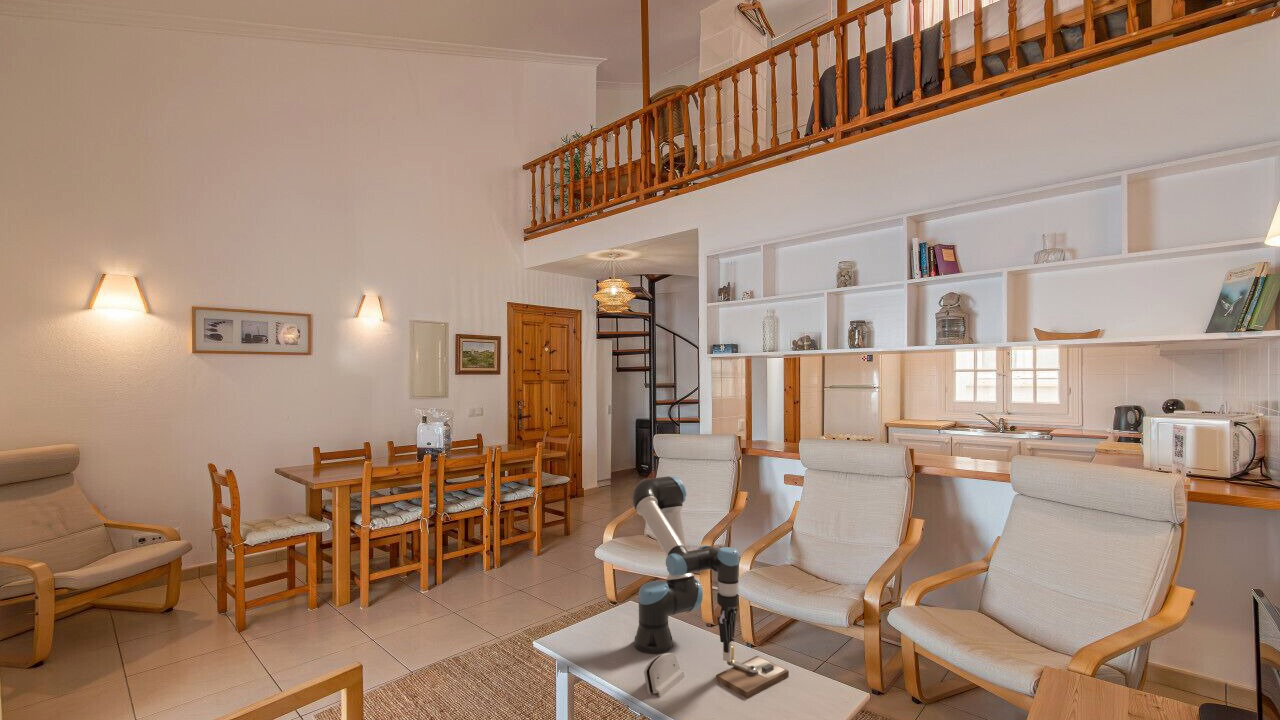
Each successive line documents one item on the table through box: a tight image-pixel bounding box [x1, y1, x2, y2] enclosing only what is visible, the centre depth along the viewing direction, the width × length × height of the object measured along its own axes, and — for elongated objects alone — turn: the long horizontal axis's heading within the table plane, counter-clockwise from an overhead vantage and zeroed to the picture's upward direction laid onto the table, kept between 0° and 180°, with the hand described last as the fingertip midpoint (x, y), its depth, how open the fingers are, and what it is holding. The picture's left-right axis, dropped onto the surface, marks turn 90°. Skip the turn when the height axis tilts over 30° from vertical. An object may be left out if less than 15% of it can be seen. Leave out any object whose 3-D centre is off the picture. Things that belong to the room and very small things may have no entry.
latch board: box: [715, 655, 789, 699], centre depth 202 cm, size 14×22×4 cm, turn 129°
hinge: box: [643, 652, 686, 698], centre depth 199 cm, size 17×5×10 cm, turn 146°
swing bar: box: [726, 644, 757, 674], centre depth 205 cm, size 12×3×6 cm, turn 49°
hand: (727, 660), depth 205 cm, fingers closed
